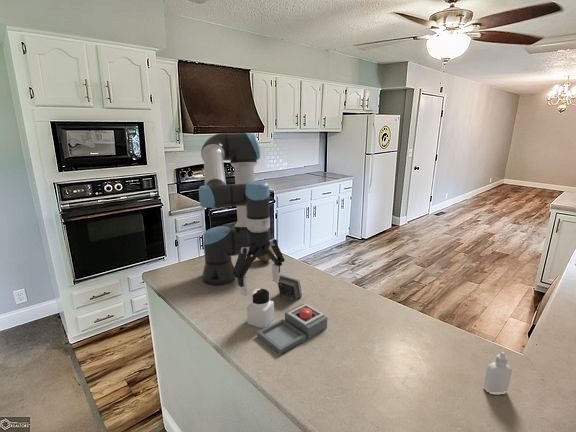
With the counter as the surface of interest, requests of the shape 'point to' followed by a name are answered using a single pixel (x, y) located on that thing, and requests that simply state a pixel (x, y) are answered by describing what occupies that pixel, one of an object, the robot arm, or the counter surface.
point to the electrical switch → (289, 287)
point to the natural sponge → (265, 257)
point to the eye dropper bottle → (498, 374)
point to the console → (292, 329)
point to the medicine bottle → (260, 309)
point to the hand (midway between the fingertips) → (260, 287)
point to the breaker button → (305, 314)
